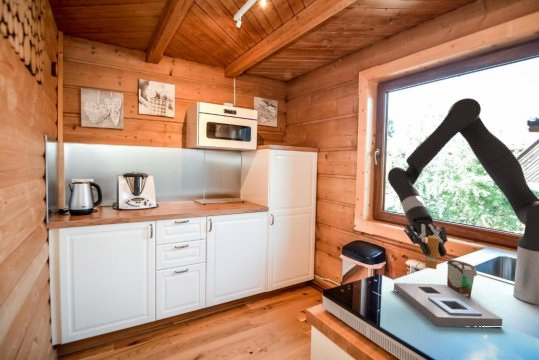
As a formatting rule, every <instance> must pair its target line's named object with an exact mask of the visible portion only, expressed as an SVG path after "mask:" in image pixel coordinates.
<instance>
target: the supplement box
mask: <svg viewBox="0 0 539 360" xmlns="http://www.w3.org/2000/svg"><path fill="white" fill-rule="evenodd" d="M426 243H427V245H428V247H429V249H430V251H431V254H430V255H429V256H426V255H425V261H424V262H425V264H424V267H425V268H427V269H433V270H437V267H438V256H439V255H438V254H439V252H438V246H439V237H436V236H434V235H433V236H430V235H429V237H427V241H426Z"/></svg>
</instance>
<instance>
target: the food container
mask: <svg viewBox="0 0 539 360" xmlns="http://www.w3.org/2000/svg"><path fill="white" fill-rule="evenodd" d="M446 264H447V275H446V276H447V277H446V278H447V280H446V281H447V282H446V286H448V287H449V288H451V289H453V290H455V291H456V292H458V293H460V294H461V295H463V296H465V297H466V298H468V299H470V298H471V296H472V290H473V287H474V286H473V284H474V280H475V277H477V276H478V272H477V269H476V267H475V266H474V265H472V264H471V263H468V262H464V261H460V260H456V259H451V258H448V259H447V262H446Z"/></svg>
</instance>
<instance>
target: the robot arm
mask: <svg viewBox="0 0 539 360" xmlns="http://www.w3.org/2000/svg"><path fill="white" fill-rule="evenodd" d="M481 107H482V106H481V105H480V103H479V101H477V100H476V99H475V98H470V97H469V98H468V97H467V98H461V99H459V100H457V101H456V102H454V103H453V104H452V105H451V106H450V107H449V109H448V112H447V114H446V115H445V117H444V119H443V120H442V121H441V122H440V124H439V125H438V126H437V128H435V129H434V130H433V132H432V133H431V134H429V136H428V137H426V138H425V139H424V140H423V141H422V142H421V143H420V144H419V145H418V146H417V147H416V148H415V149H414V151H412V153H410V155H409V156H408V157H407V158H406V160H405V161H406V163H407V165H408V166H407V168H406V170H405V169H404V168H402V167H398V166H396V167H392V168H390V170H389V171H388V174H387V180H388V183H389V184H390V186H391V188H392V189H393V190H394V192H395V193H396V195H397V196H398V199H399V202H400V204H401V207H402V210H403V213H404V215H405V217H406V219H407V223H408V225H406V226H405V228H404V229H403V232H404V233H405V234H406V236H407V237H408V238H409V240H410V241H411V243H412V244H413V245H418V246H420V249H421V251H422V253H423V255H425V257H426V256H429V255H430V254H431V251H430V249H429V247H428V245H427V241H426V240H427V239H426V238H428V237H429V235H430V236H436V237H439V246H438V254H439V255H440V257H445V256H446V255H447V249H446V248H445V246H444V245H445V244H446V243H447V242H448V237H447V231H446V227H445V226H441V227H439V226H437V225H436V224H435V223H434V222H433V217H432V215H431V212H430V210H429V209H428V206H427V205H426V203H425V201H424V200H423V198H422V196H421V195H420V192H419V191H418V189H417V188H416V187H415V186H414V185H415V183H417V181H418V179H419V177H420V175H421V174H422V172H423V170H424V169H425V167H426V166H428V164H430V163H431V162H432V161H433V160H434V158H436V156H437V155H438V154H439V153H440V152H441V150H442V149H443V148H444V147H445V146H446V145H447V144H448V143H449V142H450V141H451V140H452V139H453V138H454V137H455V136H456V135H457V134H458V133H459V134H460V135H461V137H463V138H464V139H465V141H466V143H467V144H468V146H469V147H470V149H471V152H473V154H474V156H475V157H476V159H477V160H478V162H479V164H480V165H481V166H482V168H483V170H484V171H485V172H486V173H487V175H488V176H489V178H491V180H492V181H493V182H494V184H495V185H496V186H497V188H498V189H499V190H500V191H501V192H502V194H503V195H504V196H505V198H506V200H507V201H508V203H509V205H510V207H511V209H512V210H513V212H514V214H515V215H516V218H517V219H518V220H519V222H520V223H522V224H523V225H524V232H523V235H522V236H521V237H519V238H518V240H517V251H516V252H517V253H516V262H515V272H514V273H515V275H514V284H513V285H514V286H513V294H512V295H513V296H514V297H515V298H517V299H518V300H520V301H523V302H526V303H530V304H533V305H536V306H539V197H538V196H536V194H535V193H534V192H533V191H532V190H531V188H530V186H529V185H528V183H527V180H526V177H525V174H524V171H523V167H522V165H521V163H520V161H519V160H518V158H516V156H515V155H514V153H513V152H512V150H511V149H510V148H509V147H508V146H507V145H506V144H505V143H504V142H503V141H502V140H501V139H500V138H498V137H497V136H496V135H494V133H492V132H491V131H490V130H489V129H488V128H487V127H486V125H485V124H484V122H483V120H482V119H481V117H480V114H481V111H482V108H481Z"/></svg>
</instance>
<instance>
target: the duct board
mask: <svg viewBox="0 0 539 360" xmlns="http://www.w3.org/2000/svg"><path fill="white" fill-rule="evenodd" d="M394 290H396V291H397V292H398V293H399V294H400V295H401V296H402V297H401V296H400V295H399V294H398V293H397V292H396V291H395V292H396V293H397V294H398V295H399V296H400V297H401V298H402V299H404V300H405V301H406V302H407V303H408V304H409V305H411V306H412V307H413V308H414V309H416V310H417V311H418V312H419V313H420V314H422V316H424V317H425V318H426V319H427V320H429V321H430V322H431V323H432V324H434V326H436V327H440V328H441V327H446V328H447V327H448V328H452V327H451V326H460V327H459V328H465V327H464V326H477V327H479V326H481V327H482V326H502V327H503V318H502V317H500V316H498V315H497V314H495V313H494V312H491V310H489V309H487V308H485V307H483V306H481V305H479V303H476V302H475V301H473V300H471V299H470V298H466V297H465V296H463V295H461V294H460V293H458V292H456V291H455V290H453V289H451V288H449V287H448V286H447V284H435V283H434V284H433V283H410V282H409V283H408V282H394V284H393V291H394ZM449 326H450V327H449ZM461 326H462V327H461Z"/></svg>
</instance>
